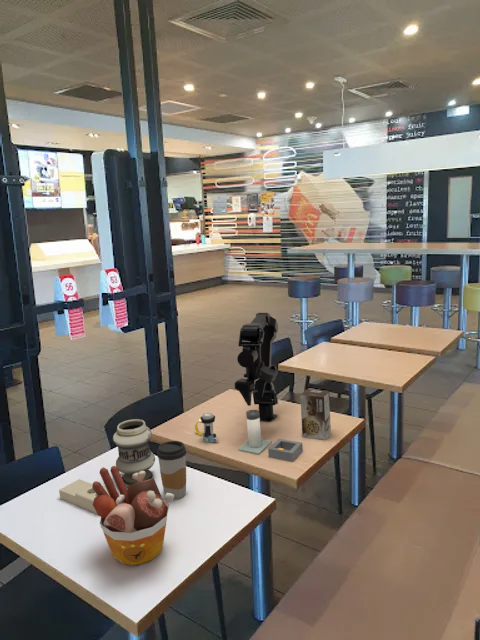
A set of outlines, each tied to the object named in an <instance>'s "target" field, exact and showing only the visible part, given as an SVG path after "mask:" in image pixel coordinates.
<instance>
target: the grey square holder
mask: <svg viewBox="0 0 480 640" xmlns="http://www.w3.org/2000/svg"><path fill="white" fill-rule="evenodd" d="M303 447H304V446H303V442H302V441H296V440H295V441H294V440H290V439H284V438H278V439H277V440H276V441H274V443H272V444H271V446H269V447H267V448H268V449H267V453H268V458H269V459H276V460H280V461H287V462H291V463H293V462H295V460H296V459H297V457H299V456H300V455H301V454H302V452H303V449H304V448H303Z"/></svg>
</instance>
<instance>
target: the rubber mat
mask: <svg viewBox="0 0 480 640" xmlns="http://www.w3.org/2000/svg"><path fill="white" fill-rule="evenodd" d="M261 441H262V445H261V446H260V447H256V448H253V447H250V446H249V440H248V441H246V442H245V443H244V444H242V445H241V446H240V447H238V448H237V451H238V452H242V453H247V454H248V453H249V454H254V455H259V456H260V455H261V454H262V453H263V452H264V451H265V450H266V449H267V448H269V447H270V445H272V444H273V442H272V441H271V440H268V439H267V440H266V439H261Z"/></svg>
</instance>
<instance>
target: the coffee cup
mask: <svg viewBox="0 0 480 640" xmlns="http://www.w3.org/2000/svg"><path fill="white" fill-rule="evenodd" d="M156 451H157V452H156V453H157V454H156V455H157V456H156V457H157V458H158V464H159V471H160V472H159V473H160V477H161V484H162V488H163V495H164V496H165V495H166V493H171V494H174V498H173V500H172V501H174V500H179V499H183V498H184V497H185V495H186V493H187V459H186V458H187V457H186V455H187V448H186V446H185V444H184V443H183V442H182V441H179V440H170V441H165V442H163V443H161V444H159V446H158V448H157V450H156Z"/></svg>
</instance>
